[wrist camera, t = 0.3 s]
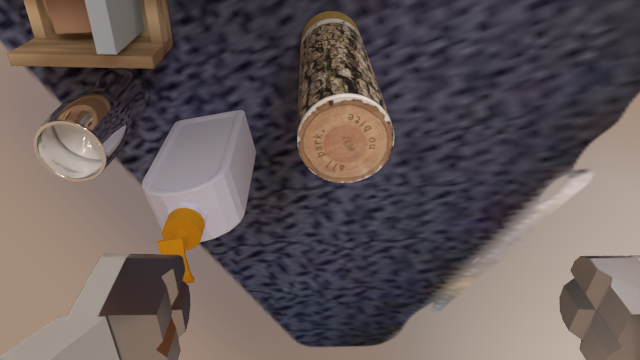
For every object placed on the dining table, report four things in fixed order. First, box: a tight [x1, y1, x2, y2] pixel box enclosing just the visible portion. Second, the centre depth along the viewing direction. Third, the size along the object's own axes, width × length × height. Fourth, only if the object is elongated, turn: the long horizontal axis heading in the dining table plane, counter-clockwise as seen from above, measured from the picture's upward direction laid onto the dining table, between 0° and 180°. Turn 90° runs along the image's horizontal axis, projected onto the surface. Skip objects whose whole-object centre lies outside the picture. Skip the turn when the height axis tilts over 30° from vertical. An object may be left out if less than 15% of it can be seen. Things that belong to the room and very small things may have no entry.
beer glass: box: [33, 68, 149, 182], centre depth 50 cm, size 7×7×15 cm
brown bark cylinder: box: [297, 11, 394, 183], centre depth 43 cm, size 7×7×25 cm
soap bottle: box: [142, 110, 256, 283], centre depth 50 cm, size 9×7×23 cm
